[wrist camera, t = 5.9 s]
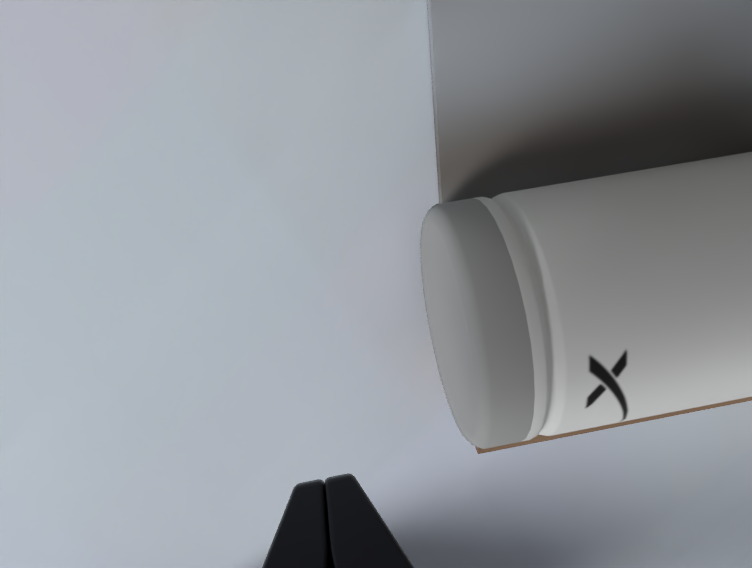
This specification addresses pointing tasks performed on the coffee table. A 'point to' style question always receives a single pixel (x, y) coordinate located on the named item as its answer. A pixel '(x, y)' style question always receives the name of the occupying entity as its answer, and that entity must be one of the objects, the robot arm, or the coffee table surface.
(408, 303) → the coffee table surface
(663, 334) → the travel mug
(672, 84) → the cradle
